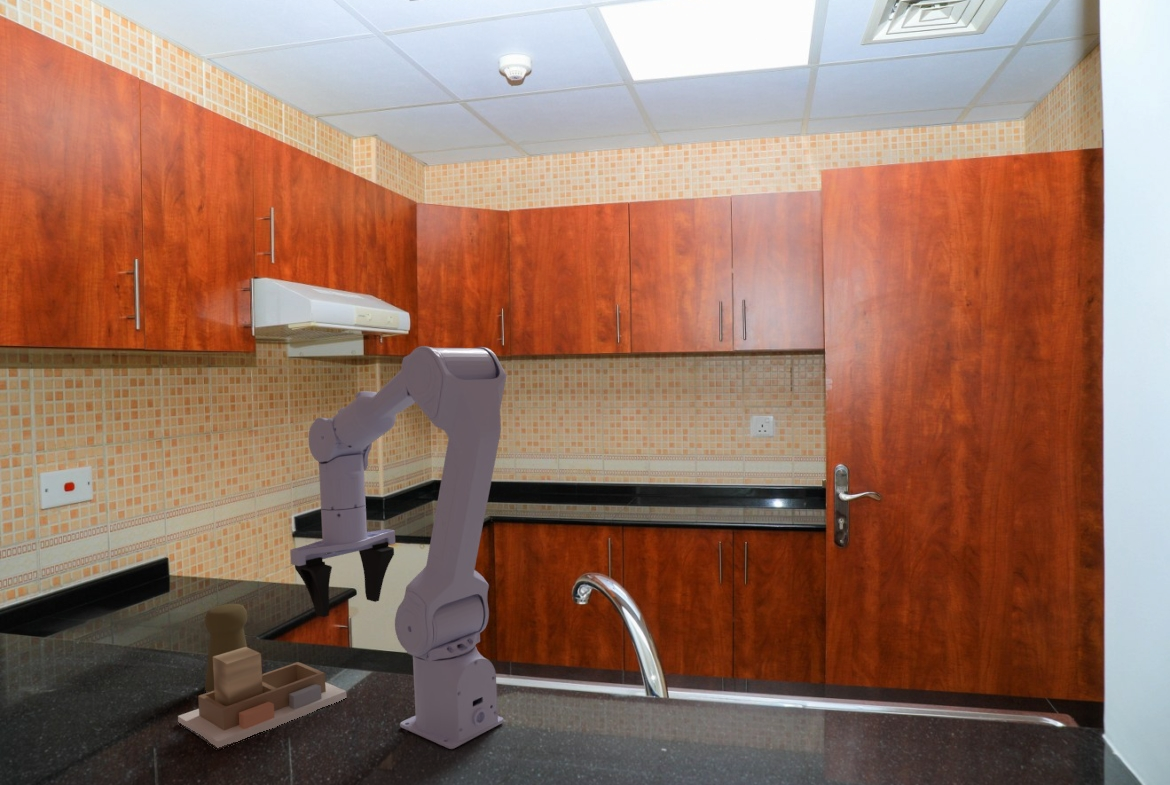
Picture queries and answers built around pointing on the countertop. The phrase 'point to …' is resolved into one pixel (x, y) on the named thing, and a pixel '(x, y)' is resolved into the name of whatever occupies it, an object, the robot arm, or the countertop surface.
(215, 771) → the countertop surface
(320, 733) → the countertop surface
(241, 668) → the maple peg
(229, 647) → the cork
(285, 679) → the socket board
